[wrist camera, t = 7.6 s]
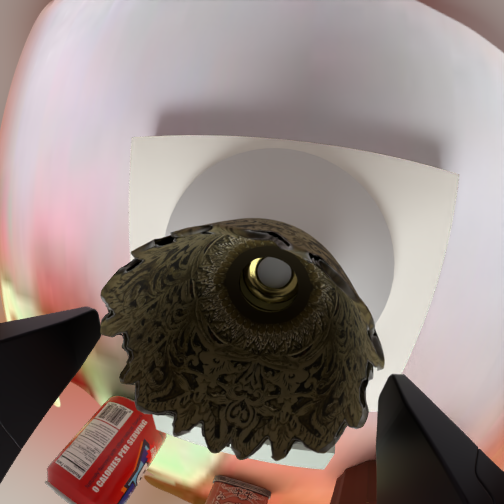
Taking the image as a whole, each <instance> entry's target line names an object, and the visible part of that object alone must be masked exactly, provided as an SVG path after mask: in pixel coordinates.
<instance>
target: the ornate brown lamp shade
mask: <svg viewBox="0 0 504 504" xmlns="http://www.w3.org/2000/svg"><path fill="white" fill-rule="evenodd" d="M170 234H171V235H169V236H166V237H163V238H159V239H153V240H152V241H150V242H148V243H146V244H144V245H142V246H140V247H138V248H136V249H135V250H133V251H131V255H132V256H133V257H134V259H133V260H132V261H131V262H130V263H128V264H127V265H125V266H123V267H122V268H120V269H119V270H118V271H117V272H116V273H115V274H114V275H113V276H112V278H111V279H110V280H109V281H108V282H107V284H106V285H105V286H104V288H103V289H102V291H101V298H102V300H103V302H104V303H105V304H106V307H107V309H108V312H109V313H108V314H106V315H105V316H104V318H103V319H102V321H101V330H100V333H101V334H102V335H105V336H109V337H115V336H116V335H122V334H121V333H123V335H122V336H124V337H123V339H124V340H123V344H122V348H123V349H124V350H125V351H126V352H127V354H129V356H128V357H129V358H128V360H127V362H126V363H127V365H126V366H125V368H124V369H123V371H122V372H121V374H120V382H121V383H122V384H129V385H131V384H132V385H134V383H135V401H134V402H135V406H136V409H137V410H138V411H140V412H142V413H144V414H153V415H157V416H159V415H161V416H162V415H163V416H164V415H170V416H172V417H174V418H173V423H172V426H173V436H174V437H178V436H182V435H184V434H187V433H190V431H191V430H192V429H193V428H194V427H196V426H197V425H198V424H202V426H201V432H202V437H204V439H205V442H206V445H207V447H208V449H209V451H210V452H211V453H219V452H221V451H222V450H223V449H224V448H225V447H230V444H231V447H230V448H231V449H232V451H233V452H234V454H235V455H236V457H237V459H239V460H244V459H247V458H249V457H251V456H252V455H253V454H254V453H256V452H257V451H258V450H259V449H260V448H261V447H262V446H263V445H264V443H265V442H266V441H267V440H268V439H269V441H270V444H271V452H272V456H271V458H272V459H274V460H275V461H279V460H281V459H284V458H285V457H286V456H287V455H288V453H289V451H290V450H291V448H292V445H294V444H301V443H303V445H304V447H306V448H307V449H309V450H311V451H313V452H315V453H321V454H324V453H326V452H327V451H329V450H330V449H331V448H332V447H333V446H334V445H335V444H336V443H337V441H338V440H339V438H340V437H341V435H342V434H343V432H344V430H345V428H346V427H347V426H349V427H351V428H355V429H358V428H361V427H363V426H364V424H365V422H366V420H367V417H368V413H369V409H368V405H367V402H366V388H367V385H368V382H369V381H370V380H372V379H373V368H374V367H375V368H377V371H379V370H382V369H384V364H385V359H384V353H383V349H382V346H381V343H380V340H379V337H378V335H377V333H376V329H375V323H374V320H373V317H372V315H371V313H370V311H369V309H368V307H367V306H366V304H365V303H364V302H363V300H362V299H361V298H360V297H359V296H358V294H357V292H356V290H355V288H354V287H353V285H352V283H351V282H350V280H349V278H348V277H347V275H346V273H345V272H344V270H343V269H342V267H341V266H340V264H339V263H338V262H337V261H336V259H335V258H334V257H333V255H332V254H331V253H330V252H329V251H328V250H327V249H326V248H325V247H324V246H323V245H322V244H321V243H320V242H319V241H317V240H316V239H315V238H314V237H312V236H311V235H309V234H308V233H306V232H305V231H303V230H301V229H299V228H297V227H295V226H293V225H290V224H287V223H284V222H281V221H276V220H271V219H263V218H241V219H234V220H227V221H221V222H216V223H211V224H206V225H201V226H194V227H188V228H184V229H181V230H177V231H174V232H171V233H170ZM267 257H272V258H276V259H279V260H281V261H283V262H285V263H286V264H288V265H289V266H290V269H291V278H290V280H289V282H288V283H287V284H286V285H284V286H283V287H280V288H270V287H268V286H266V285H264V284H263V283H262V282H261V281H260V279H259V277H258V266H259V264H260V263H261V261H262V260H264V259H265V258H267ZM167 413H169V414H167ZM173 415H174V416H173ZM295 442H296V443H295ZM297 442H301V443H297ZM267 446H268V444H267Z"/></svg>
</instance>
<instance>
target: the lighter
mask: <svg viewBox="0 0 504 504" xmlns="http://www.w3.org/2000/svg"><path fill="white" fill-rule="evenodd" d="M213 483H214V484H213V486H212V489H211V491H210V493H209V496H208V498H207V500H206V503H205V504H267V503H268V499H270V497H271V492H270V491H268V490H266V489H263V488H260V487H257V486H254V485H251V484H248V483H245V482H242V481H239V480H235V479H232V478H228V477H225V476H215V478H214V480H213Z"/></svg>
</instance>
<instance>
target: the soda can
mask: <svg viewBox="0 0 504 504" xmlns="http://www.w3.org/2000/svg"><path fill="white" fill-rule="evenodd" d="M165 439H166V433H164V432H161V431H159V430H156V426H155V422H154V418H153V415H152V414H144V413H142V412H140V411H138V410H137V409H136V406H135V402H134V400H132V399H129V398H127V397H123V396H112V397H110V398H109V399H108V400H107V401H106V402H105V403H104V404H103V405H102V407H101V408H100V409H99V410H98V411H97V412H96V413H95V414H94V416H93V417H92V418H91V419H90V420H89V421H88V422H87V423H86V424H85V426H84V427H83V428H82V429H81V430H80V431H79V432H78V433H77V434H76V436H75V437H74V438H73V439H72V440H71V441H70V442H69V444H68V445H67V446H66V447H65V448H64V449H63V450H62V451H61V452H60V454H59V455H58V456H57V457H56V458H55V460H53V462H52V463H51V464H50V465H49V466H48V468H47V481H45V484H46V485H48V486H49V487H50V488H51V489H52V490H53V491H54V492H55V493H56V494H58V495H59V496H60V497H61V498H63V499H64V500H65V501H66V502H68V503H69V504H125V503H126V502H127V500H128V499H129V497H130V496H131V494H132V492H133V491H134V489H135V488H136V486H137V484H138V483H139V481H140V480H141V478H142V477H143V475H144V474H145V472H146V470H147V469H148V467H149V465H150V464H151V462H152V461H153V459H154V457H155V456H156V454H157V453H158V451H159V449H160V448H161V446H162V444H163V443H164V441H165Z"/></svg>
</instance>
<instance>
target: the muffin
mask: <svg viewBox="0 0 504 504" xmlns="http://www.w3.org/2000/svg"><path fill="white" fill-rule="evenodd" d="M330 504H377V466H376V460H371V461H366V462H364V463H362V464H359V465H357V466H354V467H351V468H348V469H346V470H345V471H344V473H343V474H342V475H341V476H340V477H339V478H337V481H336V485H335V488H334V492H333V495H332V499H331V502H330Z"/></svg>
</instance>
